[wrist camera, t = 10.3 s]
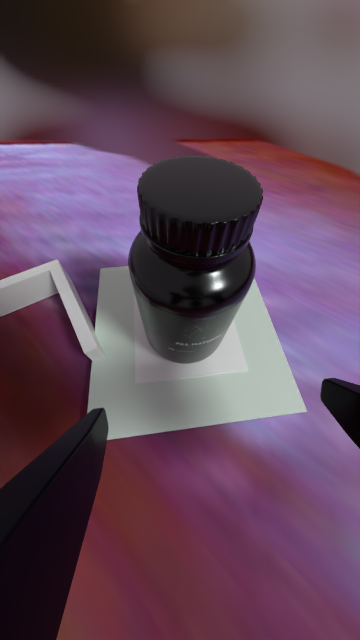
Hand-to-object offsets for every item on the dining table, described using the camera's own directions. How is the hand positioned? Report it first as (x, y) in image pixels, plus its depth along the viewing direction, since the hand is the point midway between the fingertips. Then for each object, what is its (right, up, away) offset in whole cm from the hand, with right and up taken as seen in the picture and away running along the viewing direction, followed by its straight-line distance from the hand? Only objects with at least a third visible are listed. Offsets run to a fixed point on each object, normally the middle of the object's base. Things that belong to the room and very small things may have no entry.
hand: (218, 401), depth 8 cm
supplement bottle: (-1, +2, +10) cm, 10 cm away
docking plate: (-1, +2, +11) cm, 11 cm away
